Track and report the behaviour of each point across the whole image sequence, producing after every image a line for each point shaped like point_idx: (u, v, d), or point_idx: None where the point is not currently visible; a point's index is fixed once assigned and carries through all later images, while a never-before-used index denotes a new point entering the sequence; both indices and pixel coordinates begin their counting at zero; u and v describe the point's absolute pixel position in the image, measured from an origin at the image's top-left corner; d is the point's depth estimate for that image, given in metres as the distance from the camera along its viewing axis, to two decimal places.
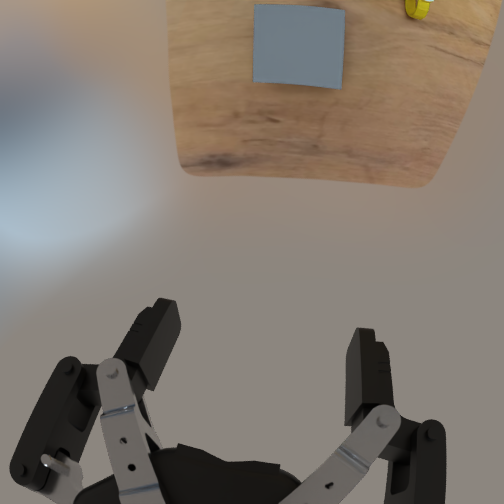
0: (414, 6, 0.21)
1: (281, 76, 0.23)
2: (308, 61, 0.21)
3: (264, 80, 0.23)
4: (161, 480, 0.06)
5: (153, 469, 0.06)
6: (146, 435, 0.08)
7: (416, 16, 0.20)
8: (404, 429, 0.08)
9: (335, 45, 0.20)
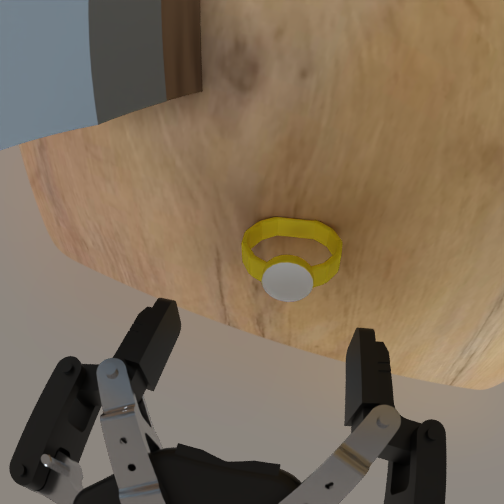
0: (284, 234, 0.20)
1: None
2: (4, 83, 0.07)
3: None
4: (161, 480, 0.06)
5: (153, 469, 0.06)
6: (146, 435, 0.08)
7: None
8: (404, 429, 0.08)
9: (32, 122, 0.08)
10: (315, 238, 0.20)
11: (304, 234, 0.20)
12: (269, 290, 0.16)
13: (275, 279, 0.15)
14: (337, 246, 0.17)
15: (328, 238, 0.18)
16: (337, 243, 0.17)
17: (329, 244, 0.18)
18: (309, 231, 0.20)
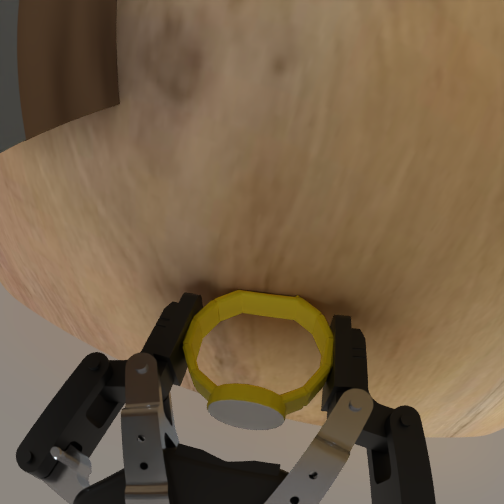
0: (253, 312, 0.14)
1: None
2: None
3: None
4: (171, 482, 0.06)
5: (165, 471, 0.06)
6: (165, 435, 0.08)
7: None
8: (378, 414, 0.08)
9: None
10: (296, 320, 0.13)
11: (281, 314, 0.14)
12: (220, 418, 0.10)
13: (227, 412, 0.09)
14: (327, 350, 0.11)
15: (315, 326, 0.12)
16: (327, 344, 0.11)
17: (316, 335, 0.12)
18: (288, 311, 0.13)
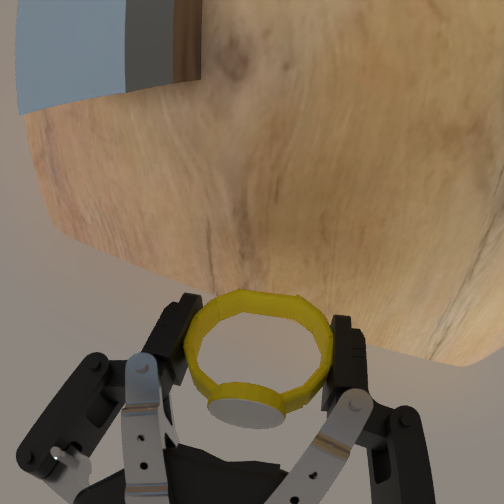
0: (253, 311, 0.14)
1: (22, 28, 0.08)
2: (38, 56, 0.09)
3: (19, 8, 0.07)
4: (171, 482, 0.06)
5: (165, 471, 0.06)
6: (165, 435, 0.08)
7: None
8: (378, 414, 0.08)
9: (64, 89, 0.10)
10: (297, 319, 0.13)
11: (281, 313, 0.14)
12: (221, 417, 0.10)
13: (227, 411, 0.09)
14: (327, 349, 0.11)
15: (315, 325, 0.12)
16: (327, 343, 0.11)
17: (316, 334, 0.12)
18: (288, 310, 0.13)
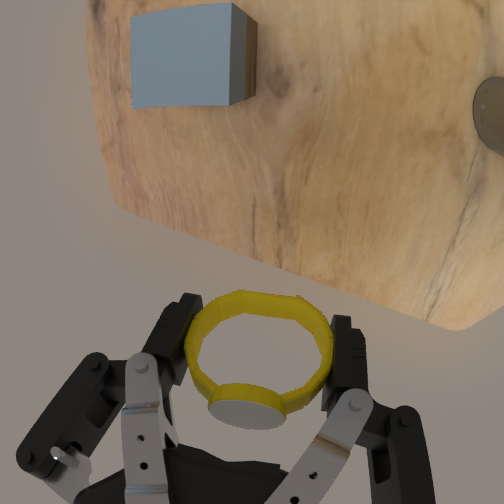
0: (253, 312, 0.14)
1: (138, 44, 0.17)
2: (156, 69, 0.18)
3: (132, 28, 0.16)
4: (171, 482, 0.06)
5: (165, 471, 0.06)
6: (165, 435, 0.08)
7: None
8: (378, 414, 0.08)
9: (180, 96, 0.19)
10: (297, 320, 0.13)
11: (281, 314, 0.14)
12: (221, 418, 0.10)
13: (228, 412, 0.09)
14: (327, 350, 0.11)
15: (315, 326, 0.12)
16: (328, 343, 0.11)
17: (316, 334, 0.12)
18: (288, 311, 0.13)
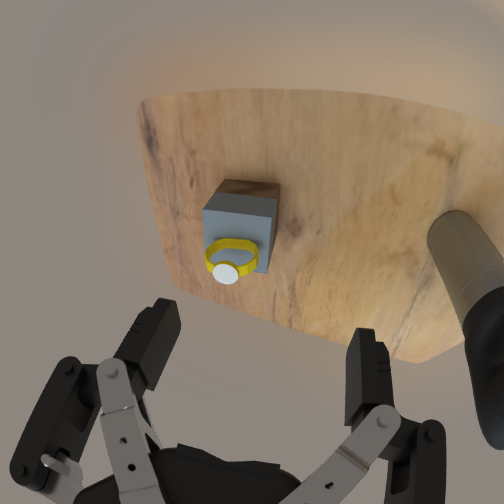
0: (231, 247, 0.35)
1: (209, 229, 0.35)
2: None
3: (204, 217, 0.34)
4: (161, 480, 0.06)
5: (153, 469, 0.06)
6: (146, 435, 0.08)
7: (205, 254, 0.33)
8: (404, 429, 0.08)
9: (237, 264, 0.37)
10: (248, 249, 0.35)
11: (241, 247, 0.35)
12: (217, 278, 0.31)
13: (219, 272, 0.31)
14: (254, 254, 0.32)
15: (253, 249, 0.34)
16: (255, 253, 0.32)
17: (254, 253, 0.34)
18: (244, 245, 0.35)
